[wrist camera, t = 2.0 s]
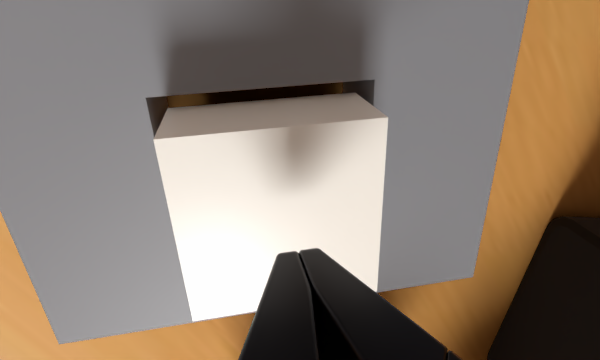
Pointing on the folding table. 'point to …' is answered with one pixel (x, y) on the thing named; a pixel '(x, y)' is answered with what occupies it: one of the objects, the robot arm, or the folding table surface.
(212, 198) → the ivory key
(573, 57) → the folding table surface
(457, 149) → the key panel
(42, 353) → the folding table surface
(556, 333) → the electronic device
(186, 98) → the folding table surface
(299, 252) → the robot arm
